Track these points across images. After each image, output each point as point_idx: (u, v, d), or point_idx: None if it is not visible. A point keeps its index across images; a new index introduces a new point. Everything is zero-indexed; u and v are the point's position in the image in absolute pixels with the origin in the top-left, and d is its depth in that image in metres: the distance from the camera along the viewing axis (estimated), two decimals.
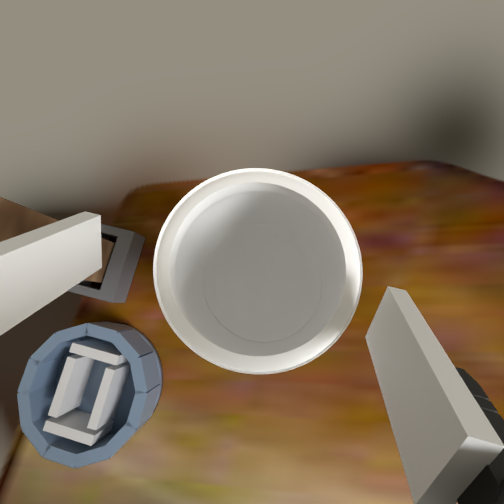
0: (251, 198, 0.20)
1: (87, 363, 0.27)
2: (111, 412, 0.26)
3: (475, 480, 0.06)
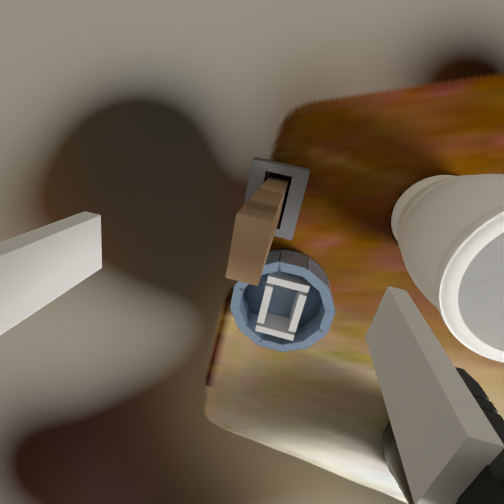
0: None
1: None
2: None
3: (475, 480, 0.06)
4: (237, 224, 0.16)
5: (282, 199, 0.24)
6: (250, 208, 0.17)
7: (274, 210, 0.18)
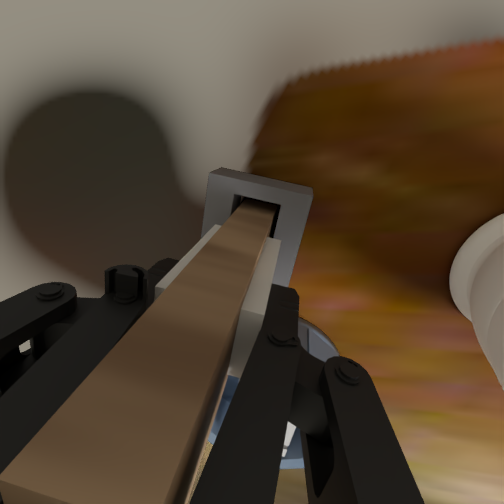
0: None
1: None
2: None
3: (253, 345, 0.09)
4: None
5: None
6: (116, 380, 0.05)
7: (207, 366, 0.06)
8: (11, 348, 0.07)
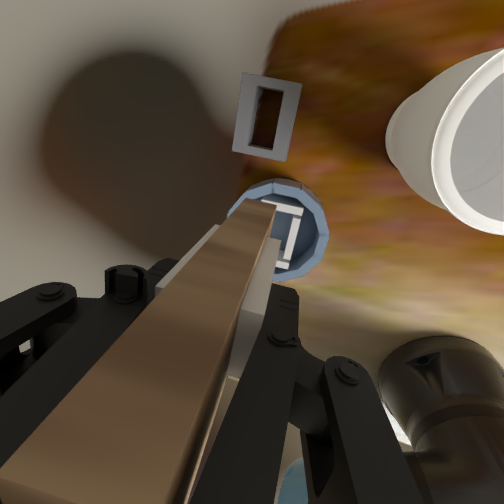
0: None
1: None
2: None
3: (254, 345, 0.09)
4: None
5: (258, 259, 0.12)
6: (115, 377, 0.05)
7: (207, 364, 0.06)
8: (11, 348, 0.07)
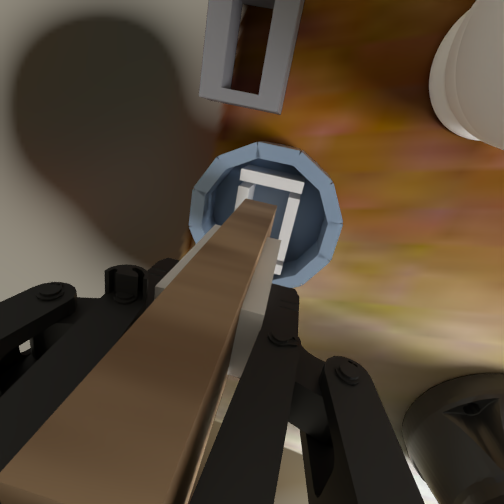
0: None
1: (252, 193, 0.22)
2: None
3: (254, 345, 0.09)
4: None
5: (258, 260, 0.12)
6: (115, 380, 0.05)
7: (207, 366, 0.06)
8: (11, 348, 0.07)
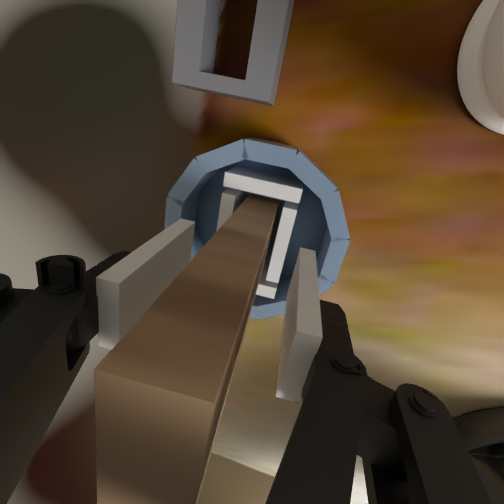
0: None
1: (240, 201, 0.19)
2: None
3: (309, 368, 0.09)
4: (103, 397, 0.05)
5: (266, 244, 0.13)
6: (166, 317, 0.06)
7: (236, 312, 0.07)
8: None
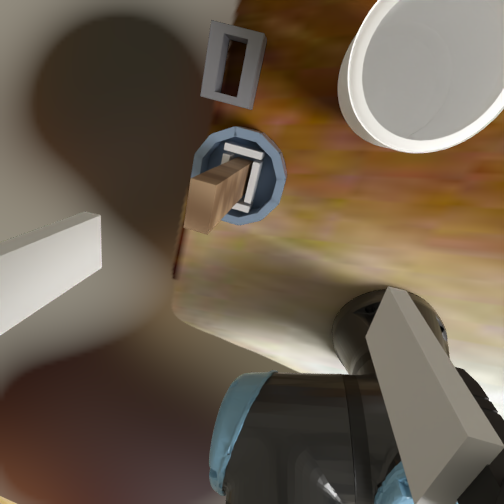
0: None
1: None
2: (254, 194, 0.36)
3: (475, 480, 0.06)
4: (191, 186, 0.22)
5: (240, 175, 0.30)
6: (204, 176, 0.23)
7: (223, 179, 0.24)
8: None
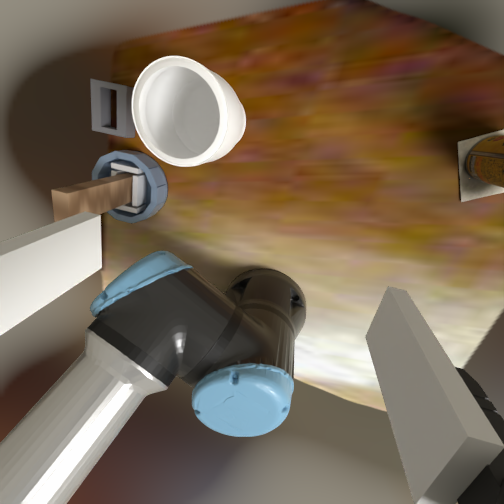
0: None
1: None
2: (143, 199, 0.48)
3: (475, 480, 0.06)
4: (53, 195, 0.33)
5: (115, 185, 0.42)
6: (66, 188, 0.35)
7: (81, 189, 0.35)
8: None
